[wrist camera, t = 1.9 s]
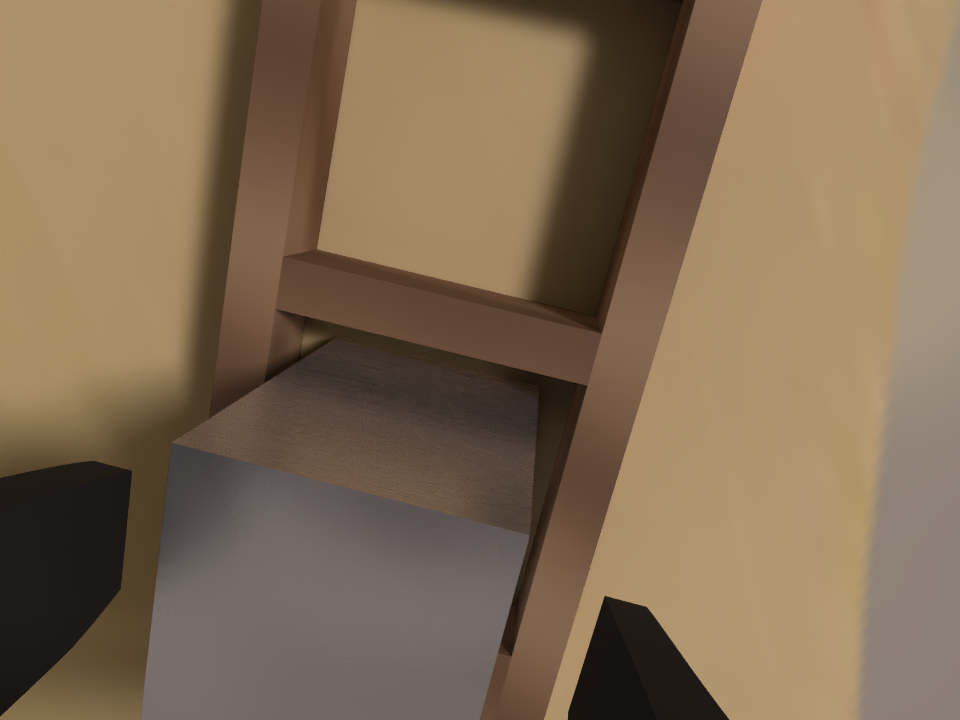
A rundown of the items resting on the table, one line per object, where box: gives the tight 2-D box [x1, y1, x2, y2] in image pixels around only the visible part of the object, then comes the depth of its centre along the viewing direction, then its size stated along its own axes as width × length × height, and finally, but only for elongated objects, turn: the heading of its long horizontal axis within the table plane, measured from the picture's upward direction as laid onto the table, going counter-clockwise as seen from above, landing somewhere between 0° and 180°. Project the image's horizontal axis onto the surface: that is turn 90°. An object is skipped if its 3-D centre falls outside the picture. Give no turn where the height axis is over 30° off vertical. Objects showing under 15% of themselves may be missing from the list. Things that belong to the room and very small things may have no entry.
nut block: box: [141, 337, 540, 720], centre depth 12 cm, size 4×4×6 cm
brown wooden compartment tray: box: [209, 0, 762, 720], centre depth 12 cm, size 24×8×2 cm, turn 167°
